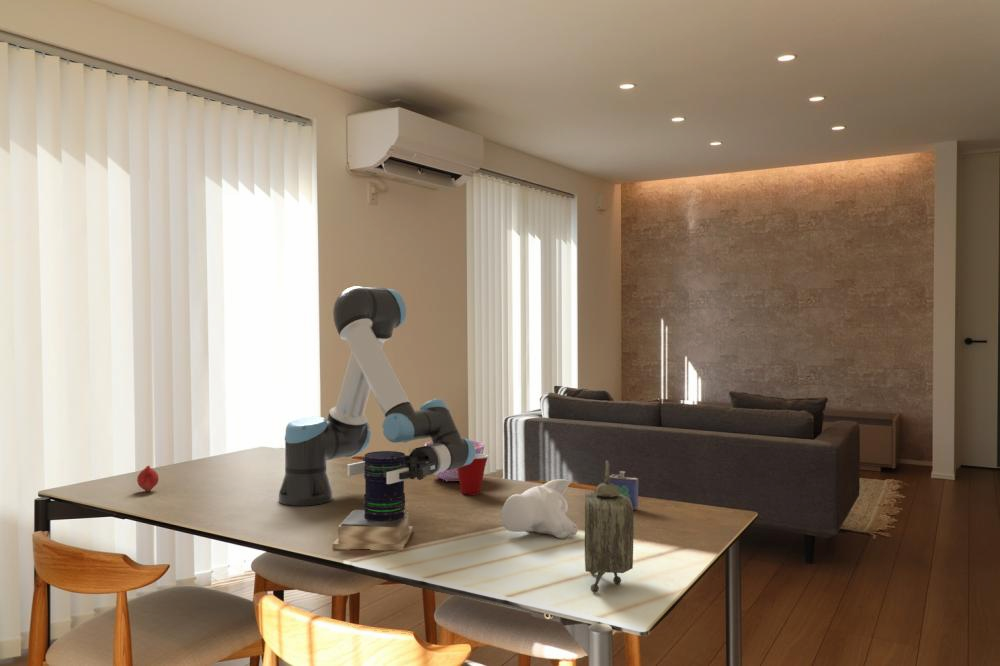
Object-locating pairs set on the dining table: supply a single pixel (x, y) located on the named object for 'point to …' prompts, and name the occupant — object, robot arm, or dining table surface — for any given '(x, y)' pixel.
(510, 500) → the fox head
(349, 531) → the plinth
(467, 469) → the plastic cup
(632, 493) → the flask
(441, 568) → the dining table surface
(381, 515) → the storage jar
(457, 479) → the bowl of food
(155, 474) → the onion
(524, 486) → the dining table surface
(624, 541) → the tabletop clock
